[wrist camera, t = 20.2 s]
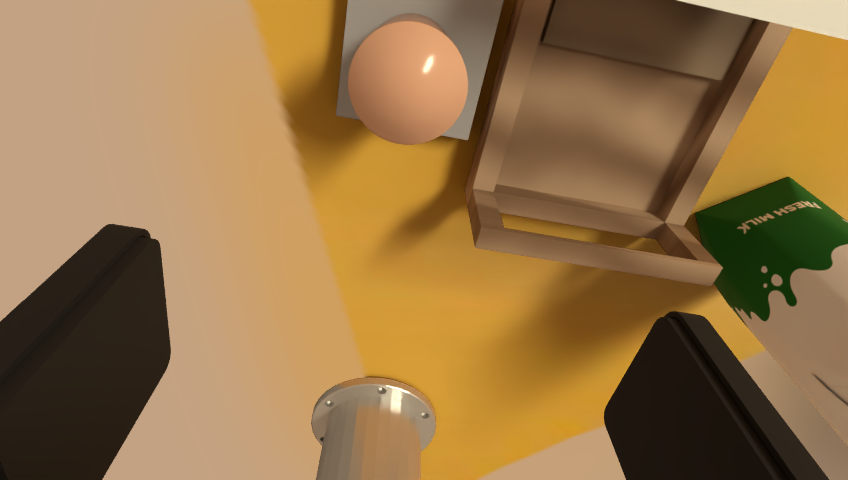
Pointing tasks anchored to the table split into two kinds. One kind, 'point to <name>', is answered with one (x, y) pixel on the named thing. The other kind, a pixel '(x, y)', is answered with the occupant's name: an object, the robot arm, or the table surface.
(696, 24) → the wooden frame crate
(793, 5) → the lid
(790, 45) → the table surface
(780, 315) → the milk carton
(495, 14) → the trivet
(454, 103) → the peach rounded knob
